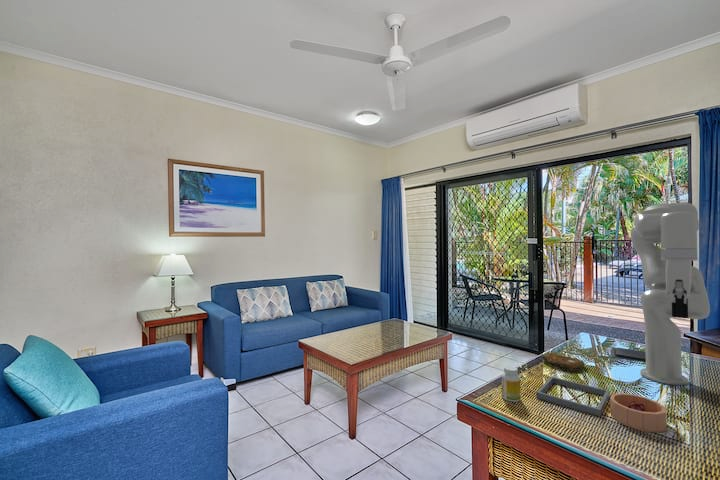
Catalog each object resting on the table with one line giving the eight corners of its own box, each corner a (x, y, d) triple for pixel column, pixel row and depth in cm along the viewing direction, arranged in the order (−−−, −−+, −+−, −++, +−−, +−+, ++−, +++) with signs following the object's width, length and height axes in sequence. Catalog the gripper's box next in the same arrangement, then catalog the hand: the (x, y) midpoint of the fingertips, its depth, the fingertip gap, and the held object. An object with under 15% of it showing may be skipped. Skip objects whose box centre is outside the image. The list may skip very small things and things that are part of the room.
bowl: (614, 405, 99) (613, 389, 99) (666, 419, 91) (666, 402, 91) (607, 421, 91) (607, 403, 91) (665, 438, 82) (665, 418, 82)
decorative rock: (536, 366, 132) (581, 377, 122) (536, 356, 132) (581, 366, 122) (544, 357, 141) (586, 366, 131) (544, 347, 141) (586, 356, 130)
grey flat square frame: (551, 381, 116) (551, 376, 116) (609, 396, 105) (609, 390, 105) (536, 397, 105) (536, 392, 105) (600, 416, 93) (600, 410, 93)
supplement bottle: (498, 396, 106) (497, 366, 106) (509, 393, 108) (509, 363, 108) (512, 403, 101) (511, 372, 101) (524, 400, 103) (523, 369, 103)
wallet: (609, 353, 140) (611, 344, 152) (609, 358, 140) (611, 348, 152) (674, 364, 128) (671, 353, 139) (674, 369, 127) (671, 358, 139)
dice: (648, 416, 91) (647, 402, 91) (644, 422, 88) (644, 407, 88) (630, 411, 94) (630, 397, 94) (626, 417, 91) (626, 402, 91)
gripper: (662, 253, 103) (663, 308, 103) (659, 256, 91) (660, 317, 91) (696, 253, 98) (698, 311, 98) (698, 256, 86) (699, 322, 86)
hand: (680, 314), depth 95 cm, fingers open, 9 cm apart
